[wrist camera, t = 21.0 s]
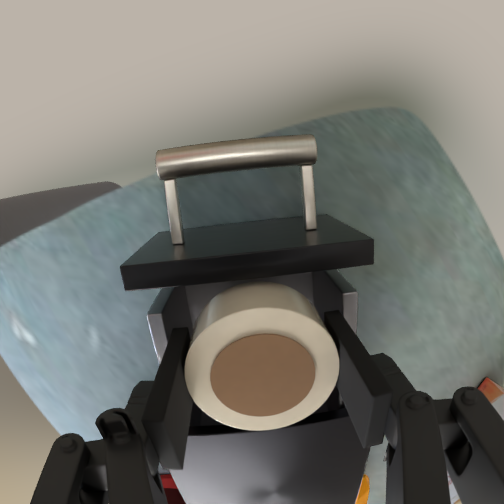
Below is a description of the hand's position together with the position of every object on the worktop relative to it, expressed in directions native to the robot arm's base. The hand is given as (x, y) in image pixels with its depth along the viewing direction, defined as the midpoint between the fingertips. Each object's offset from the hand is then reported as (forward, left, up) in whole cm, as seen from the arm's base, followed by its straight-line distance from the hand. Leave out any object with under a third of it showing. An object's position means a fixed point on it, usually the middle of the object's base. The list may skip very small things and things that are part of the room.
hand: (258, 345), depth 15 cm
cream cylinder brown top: (0, 0, 0) cm, 0 cm away
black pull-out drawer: (0, +1, -7) cm, 7 cm away
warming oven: (0, -11, -8) cm, 14 cm away
